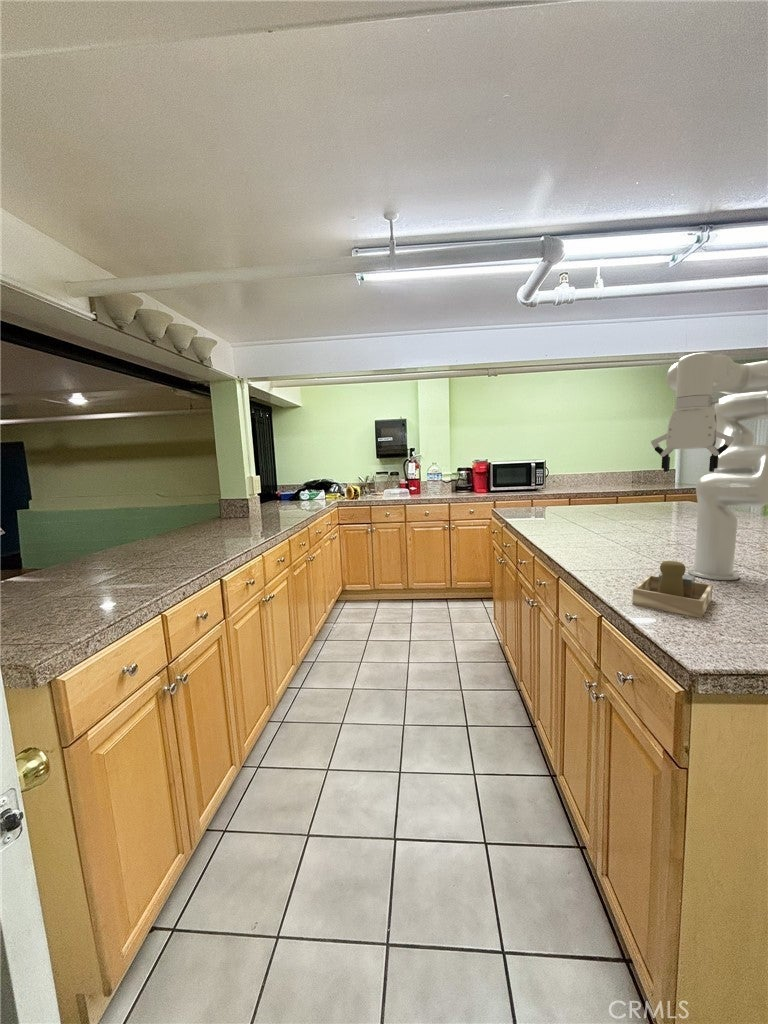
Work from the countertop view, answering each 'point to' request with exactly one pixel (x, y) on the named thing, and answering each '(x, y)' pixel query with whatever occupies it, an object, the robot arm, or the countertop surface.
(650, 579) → the tray
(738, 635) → the countertop surface
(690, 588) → the tin
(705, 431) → the robot arm
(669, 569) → the cork
